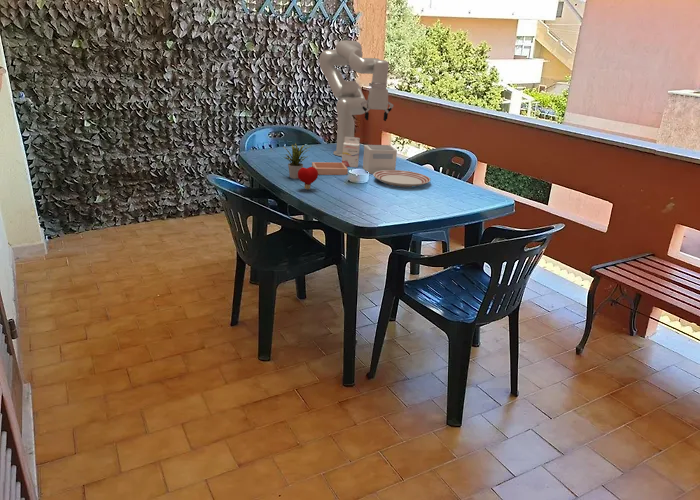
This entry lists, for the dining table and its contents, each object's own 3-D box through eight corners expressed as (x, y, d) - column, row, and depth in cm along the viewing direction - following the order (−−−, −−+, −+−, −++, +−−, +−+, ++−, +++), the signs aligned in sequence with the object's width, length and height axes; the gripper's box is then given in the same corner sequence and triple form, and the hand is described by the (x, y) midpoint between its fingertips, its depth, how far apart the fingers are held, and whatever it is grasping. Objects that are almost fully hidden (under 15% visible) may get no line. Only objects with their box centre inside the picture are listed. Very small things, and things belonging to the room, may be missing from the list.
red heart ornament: (300, 192, 231) (301, 170, 227) (294, 188, 237) (295, 166, 233) (320, 191, 235) (321, 168, 232) (313, 186, 241) (314, 164, 237)
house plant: (318, 178, 254) (320, 144, 248) (297, 183, 245) (297, 147, 238) (298, 172, 263) (299, 139, 257) (276, 176, 253) (277, 142, 247)
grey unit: (362, 167, 279) (364, 143, 275) (388, 167, 282) (390, 144, 278) (368, 173, 268) (369, 149, 263) (395, 174, 271) (397, 149, 266)
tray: (311, 168, 272) (311, 162, 271) (342, 168, 275) (342, 162, 274) (315, 174, 261) (315, 168, 259) (347, 174, 264) (347, 168, 263)
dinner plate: (385, 172, 274) (386, 165, 273) (437, 181, 264) (437, 174, 262) (363, 183, 251) (364, 177, 250) (418, 194, 241) (419, 187, 239)
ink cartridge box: (341, 166, 279) (342, 138, 274) (342, 164, 284) (343, 136, 278) (357, 167, 279) (359, 139, 273) (358, 165, 283) (360, 137, 278)
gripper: (364, 86, 265) (361, 121, 272) (397, 88, 269) (393, 122, 276) (360, 84, 272) (358, 118, 279) (393, 86, 276) (389, 119, 282)
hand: (375, 120), depth 277 cm, fingers open, 9 cm apart
